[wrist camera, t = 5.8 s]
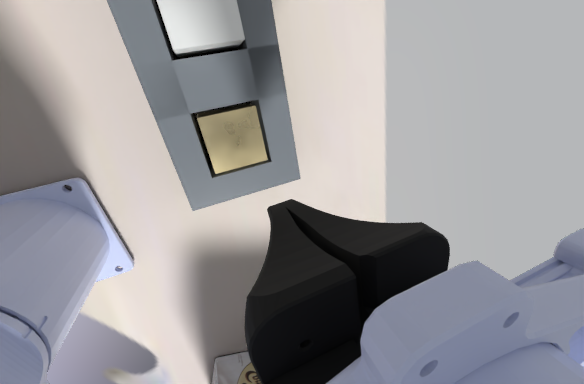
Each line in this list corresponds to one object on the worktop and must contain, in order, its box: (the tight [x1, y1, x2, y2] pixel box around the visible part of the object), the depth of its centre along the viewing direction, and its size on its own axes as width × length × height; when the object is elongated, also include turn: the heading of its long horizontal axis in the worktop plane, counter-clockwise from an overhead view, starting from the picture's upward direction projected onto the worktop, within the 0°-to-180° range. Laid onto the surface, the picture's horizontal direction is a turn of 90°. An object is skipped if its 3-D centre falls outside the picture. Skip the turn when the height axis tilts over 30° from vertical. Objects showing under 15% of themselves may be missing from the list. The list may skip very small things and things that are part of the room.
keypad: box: [107, 0, 300, 211], centre depth 14 cm, size 8×22×3 cm, turn 10°
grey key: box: [157, 0, 245, 57], centre depth 13 cm, size 4×4×3 cm
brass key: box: [197, 103, 268, 174], centre depth 17 cm, size 4×4×3 cm
